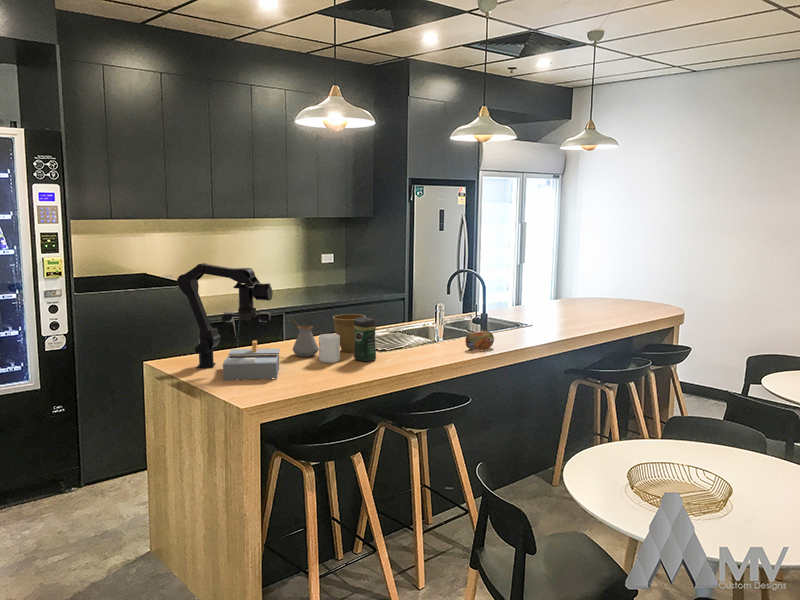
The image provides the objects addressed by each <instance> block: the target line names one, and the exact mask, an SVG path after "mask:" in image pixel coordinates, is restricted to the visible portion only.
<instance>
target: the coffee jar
mask: <svg viewBox="0 0 800 600" xmlns="http://www.w3.org/2000/svg"><path fill="white" fill-rule="evenodd" d="M354 329H355V348H354V352H353V358H354V360H357V361H360V362H374V361H375V360H376V359H377V350H376V349H377V348H376V347H377V346H376V331H377V321H376V320H375V319H374V318H370V317H366V316H365V317H359V318H356V319H355V321H354Z"/></svg>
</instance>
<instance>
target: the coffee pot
mask: <svg viewBox="0 0 800 600" xmlns="http://www.w3.org/2000/svg"><path fill="white" fill-rule="evenodd" d="M287 320H288V321H290V322H292V323H293V325H295V327H296V328H297V329H298V331H299V332H298V335H297V337H296V340H295V342H294V345H293V347H292V351H293V353H294V354H295V355H296V356H297V357H299V356H300V357H301V358H310V356H311V357H314V356H315V355H316V354H317V353H319V345H318V344H317V342H316V340H315V337H314V334H313V333H312V330H313V327H314V326H313V325H299V324H298V323H297V322H296V321H295V319H294V318H293V317H289V318H288V319H287Z"/></svg>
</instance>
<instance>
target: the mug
mask: <svg viewBox="0 0 800 600" xmlns="http://www.w3.org/2000/svg"><path fill="white" fill-rule="evenodd" d="M318 348H319V350H318V359H319V361H320V363H323V364H334V363H337V362H339V361H340V359H341V356H340V355H341V352H340V351H341V347H340V336H339V335H337V334H336V333H323V334H319V335H318Z"/></svg>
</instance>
